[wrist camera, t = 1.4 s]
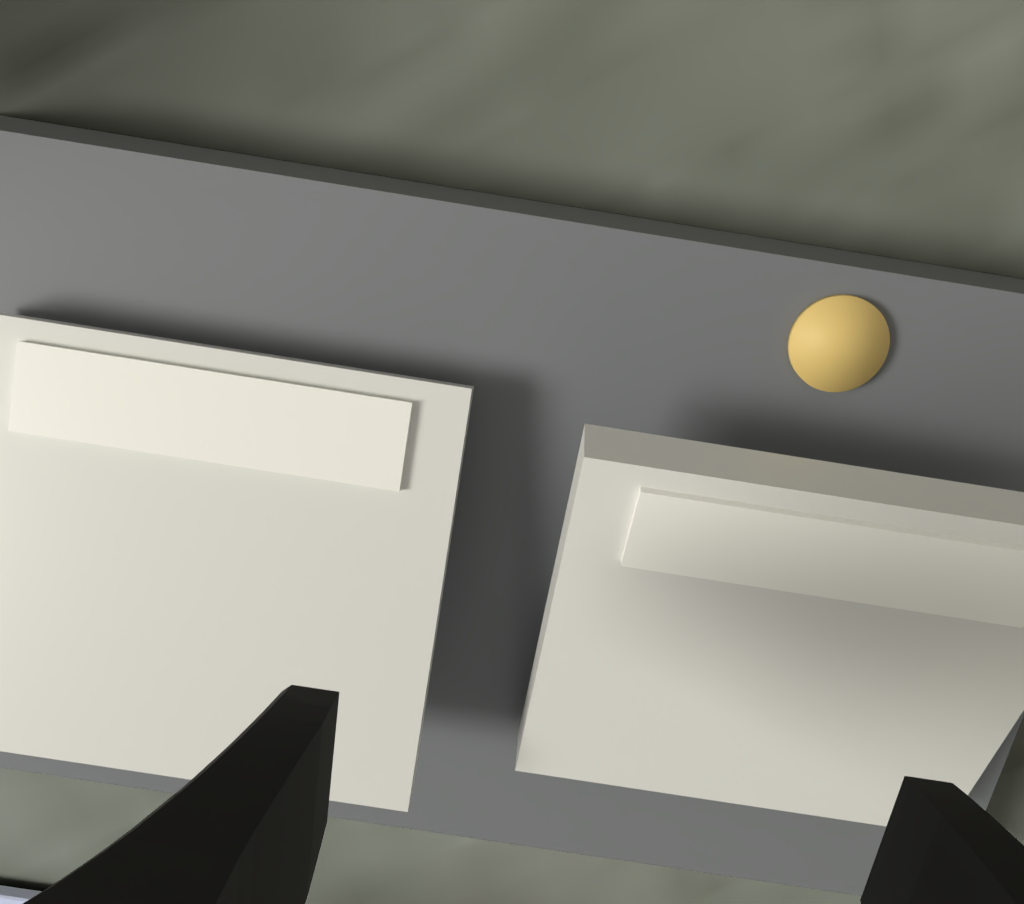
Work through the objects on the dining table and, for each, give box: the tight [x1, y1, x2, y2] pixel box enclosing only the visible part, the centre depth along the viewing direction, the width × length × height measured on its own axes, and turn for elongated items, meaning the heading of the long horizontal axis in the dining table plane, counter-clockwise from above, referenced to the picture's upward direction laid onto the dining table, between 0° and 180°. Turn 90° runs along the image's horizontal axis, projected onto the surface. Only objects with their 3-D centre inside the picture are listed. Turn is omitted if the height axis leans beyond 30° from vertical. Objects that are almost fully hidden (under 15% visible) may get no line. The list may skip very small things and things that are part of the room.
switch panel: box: [0, 115, 1024, 896], centre depth 21 cm, size 14×23×3 cm, turn 81°
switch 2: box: [515, 424, 1024, 826], centre depth 18 cm, size 8×9×1 cm
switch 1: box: [0, 312, 474, 812], centre depth 18 cm, size 8×9×1 cm
